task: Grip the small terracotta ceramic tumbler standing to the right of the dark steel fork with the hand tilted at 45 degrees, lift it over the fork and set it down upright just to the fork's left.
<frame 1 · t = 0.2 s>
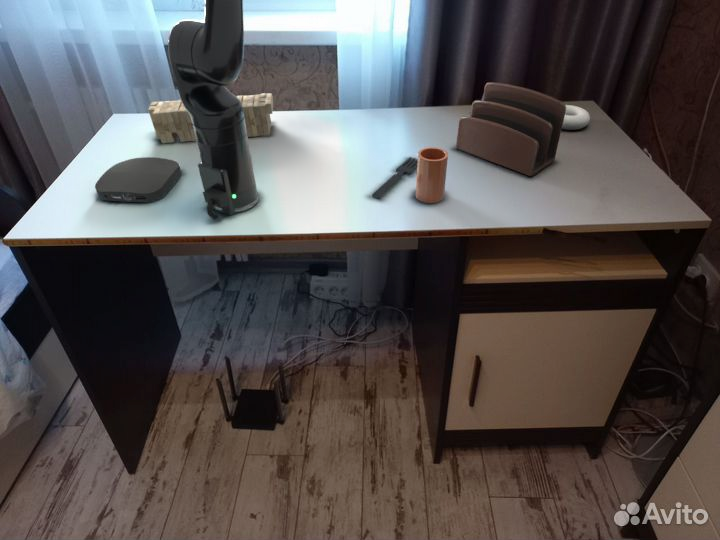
game card: (487, 120, 130), on the table
letter holder: (503, 156, 114), on the table
tumbler: (429, 195, 102), on the table
donut: (566, 124, 127), on the table
media streaming box: (142, 185, 107), on the table
fork: (397, 178, 107), on the table
block tower: (217, 134, 127), on the table
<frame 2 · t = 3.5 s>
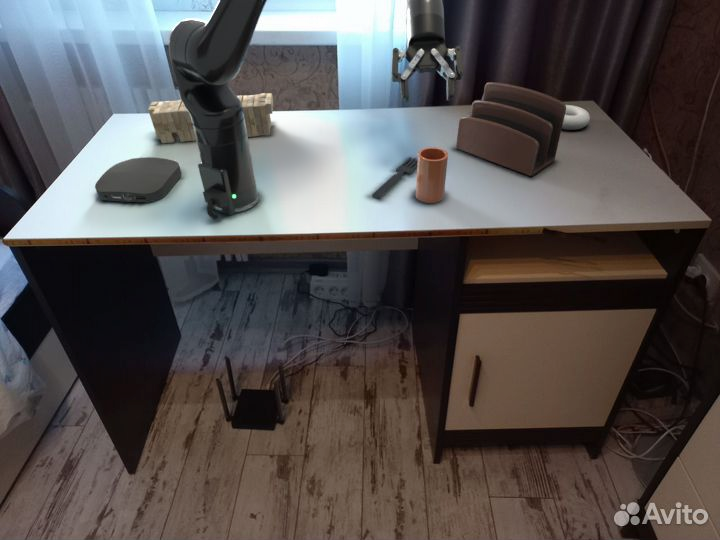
hand: (428, 99, 101), 15 cm above the table, tool tilted 45°, fingers open, 8 cm apart
nothing on the table moved.
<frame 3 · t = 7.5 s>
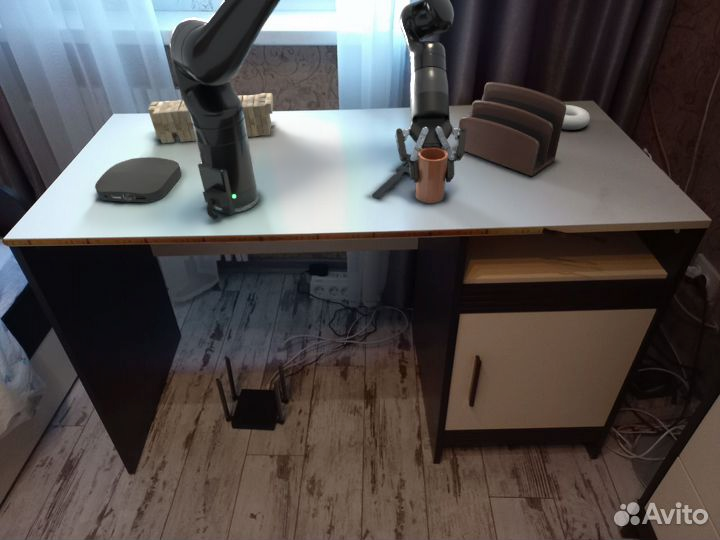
hand: (432, 181, 97), 4 cm above the table, tool tilted 45°, fingers closed on tumbler, 5 cm apart
tumbler: (429, 195, 102), on the table, touching gripper
everything else where it was.
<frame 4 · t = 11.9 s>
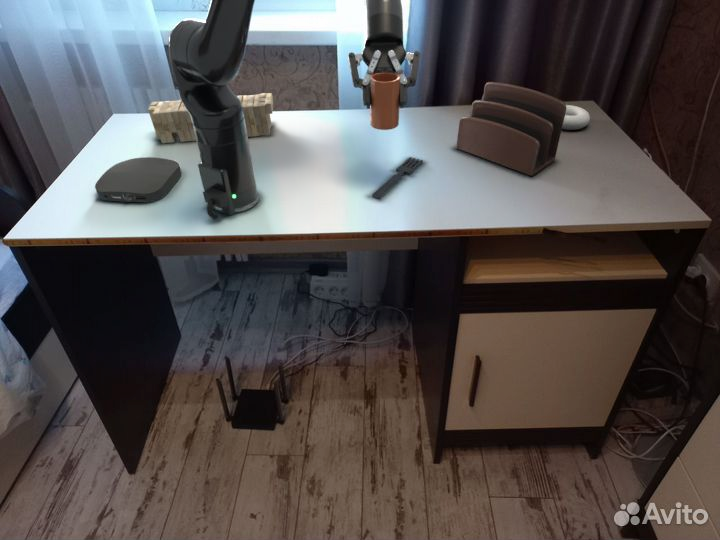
hand: (385, 106, 96), 16 cm above the table, tool tilted 45°, fingers closed on tumbler, 5 cm apart
tumbler: (384, 124, 100), point 12 cm above the table, touching gripper
everything else where it was.
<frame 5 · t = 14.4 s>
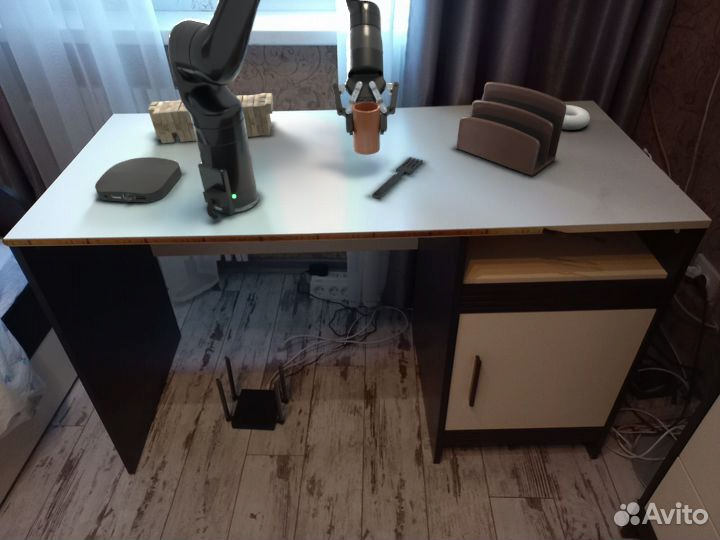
hand: (366, 133, 103), 9 cm above the table, tool tilted 45°, fingers closed on tumbler, 5 cm apart
tumbler: (366, 148, 107), point 5 cm above the table, touching gripper
everything else where it was.
when the fingers open (4 cm above the table, at t = 16.3 s): tumbler stays where it is, on the table.
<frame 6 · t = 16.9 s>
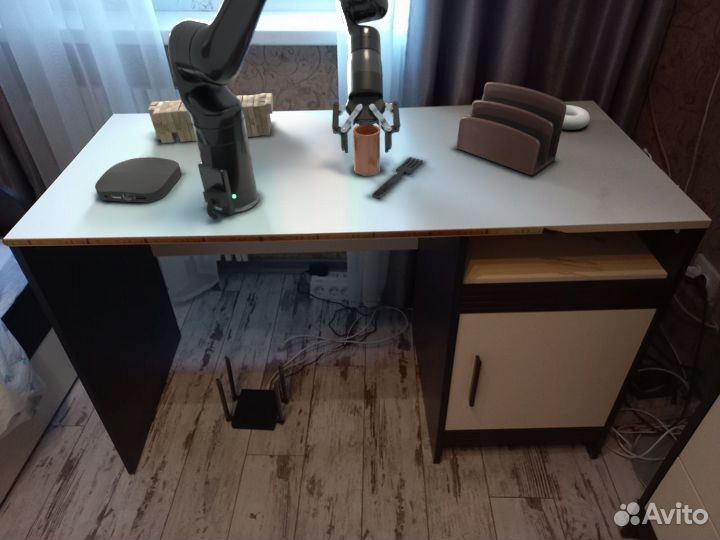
hand: (366, 151, 106), 5 cm above the table, tool tilted 45°, fingers open, 8 cm apart
tumbler: (367, 169, 110), on the table
everything else where it was.
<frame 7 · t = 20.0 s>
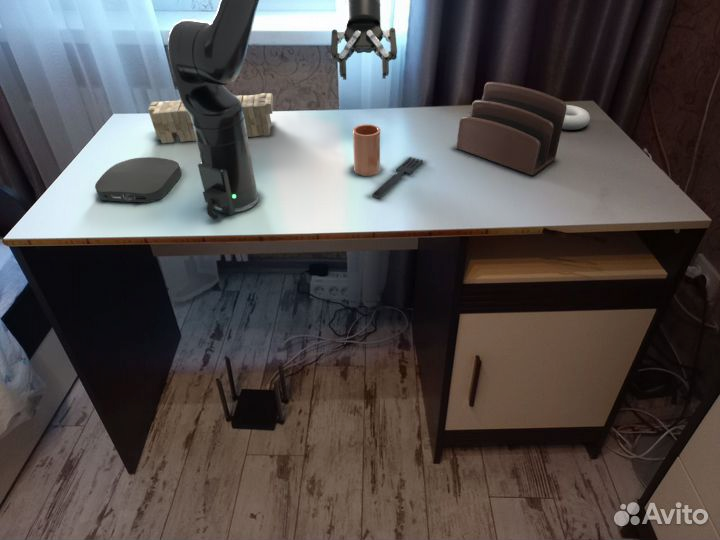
hand: (364, 77, 109), 16 cm above the table, tool tilted 45°, fingers open, 8 cm apart
nothing on the table moved.
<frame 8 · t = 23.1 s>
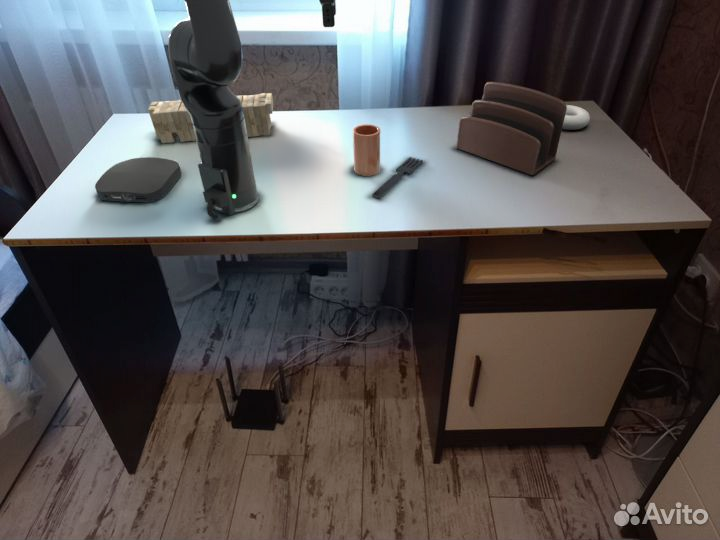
hand: (329, 20, 99), 28 cm above the table, tool pointing down, fingers open, 8 cm apart
nothing on the table moved.
at the end: tumbler inside the target area on the table beside the fork (0.8 cm from its centre), on the table; tumbler tilted 0°; the gripper is holding nothing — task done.
